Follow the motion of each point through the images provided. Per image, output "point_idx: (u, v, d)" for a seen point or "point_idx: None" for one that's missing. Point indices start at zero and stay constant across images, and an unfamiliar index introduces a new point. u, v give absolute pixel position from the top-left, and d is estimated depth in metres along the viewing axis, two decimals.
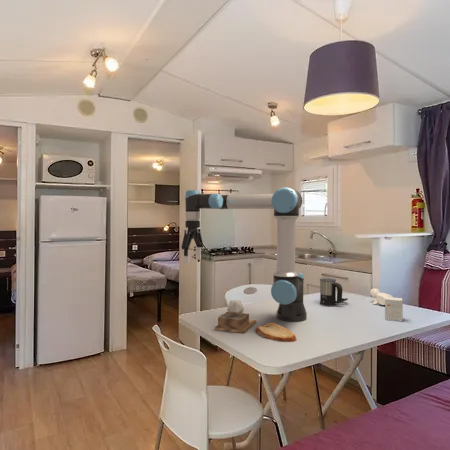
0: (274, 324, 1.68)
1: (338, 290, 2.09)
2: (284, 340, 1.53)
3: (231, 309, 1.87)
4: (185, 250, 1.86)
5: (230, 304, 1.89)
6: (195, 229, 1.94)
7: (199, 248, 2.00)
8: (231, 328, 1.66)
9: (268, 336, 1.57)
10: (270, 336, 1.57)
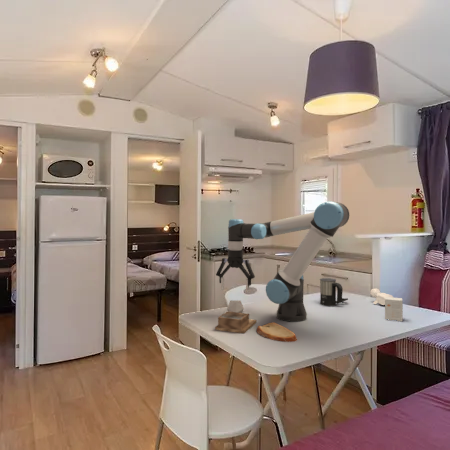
0: (275, 324, 1.68)
1: (338, 290, 2.09)
2: (284, 340, 1.53)
3: (231, 309, 1.87)
4: None
5: (230, 304, 1.89)
6: (236, 259, 1.89)
7: None
8: (231, 328, 1.66)
9: (268, 336, 1.57)
10: (270, 336, 1.57)
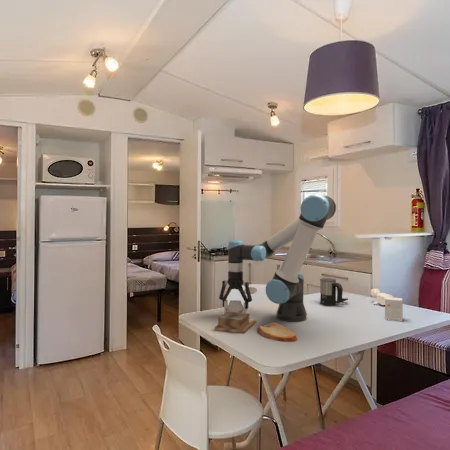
0: (276, 324, 1.68)
1: (338, 290, 2.09)
2: (284, 340, 1.53)
3: (231, 309, 1.87)
4: None
5: (230, 304, 1.89)
6: (237, 280, 1.89)
7: None
8: (231, 328, 1.66)
9: (269, 336, 1.57)
10: (271, 336, 1.57)
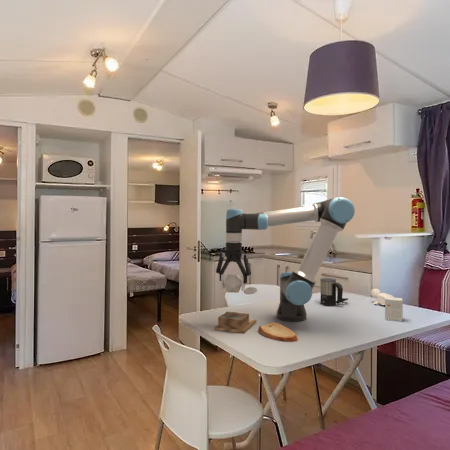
0: (277, 324, 1.69)
1: (338, 290, 2.10)
2: (285, 340, 1.53)
3: (228, 283, 1.72)
4: None
5: (227, 278, 1.74)
6: (235, 251, 1.73)
7: None
8: (231, 328, 1.66)
9: (269, 336, 1.58)
10: (271, 336, 1.57)
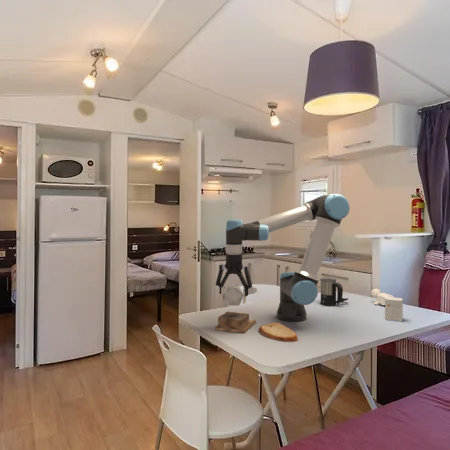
0: (277, 324, 1.69)
1: (338, 290, 2.10)
2: (285, 340, 1.53)
3: (229, 296, 1.67)
4: None
5: (228, 291, 1.69)
6: (235, 263, 1.69)
7: None
8: (231, 328, 1.66)
9: (269, 335, 1.58)
10: (271, 336, 1.57)
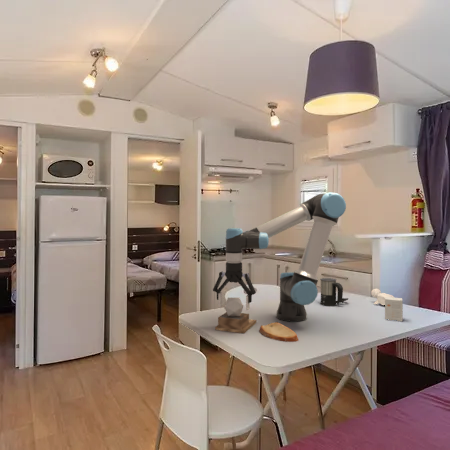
0: (278, 324, 1.69)
1: (338, 290, 2.10)
2: (285, 340, 1.53)
3: (229, 307, 1.68)
4: None
5: (228, 301, 1.70)
6: (235, 273, 1.69)
7: None
8: (231, 328, 1.66)
9: (270, 335, 1.58)
10: (272, 335, 1.57)
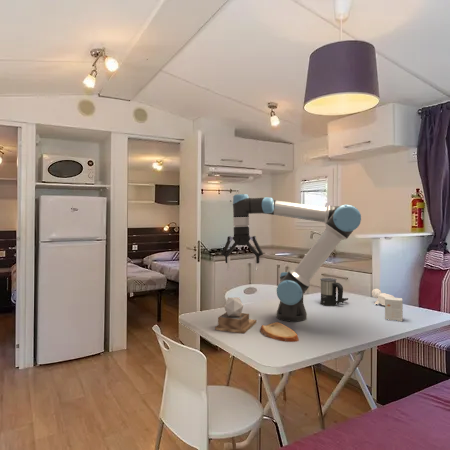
0: (279, 324, 1.69)
1: (339, 290, 2.10)
2: (285, 340, 1.53)
3: (229, 307, 1.68)
4: None
5: (228, 301, 1.70)
6: (243, 236, 1.79)
7: None
8: (231, 328, 1.66)
9: (270, 335, 1.58)
10: (272, 335, 1.57)
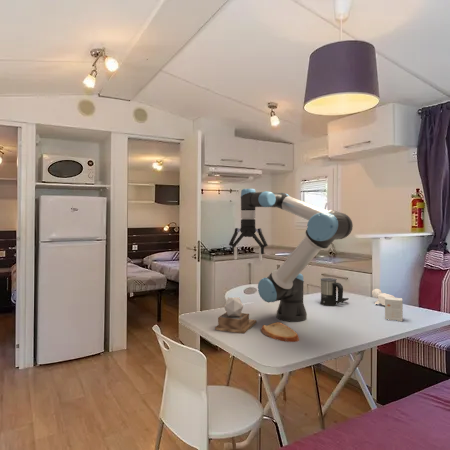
0: (280, 324, 1.69)
1: (339, 290, 2.10)
2: (286, 340, 1.54)
3: (229, 307, 1.68)
4: None
5: (228, 301, 1.70)
6: (249, 228, 1.91)
7: None
8: (231, 328, 1.66)
9: (271, 335, 1.58)
10: (273, 335, 1.58)
